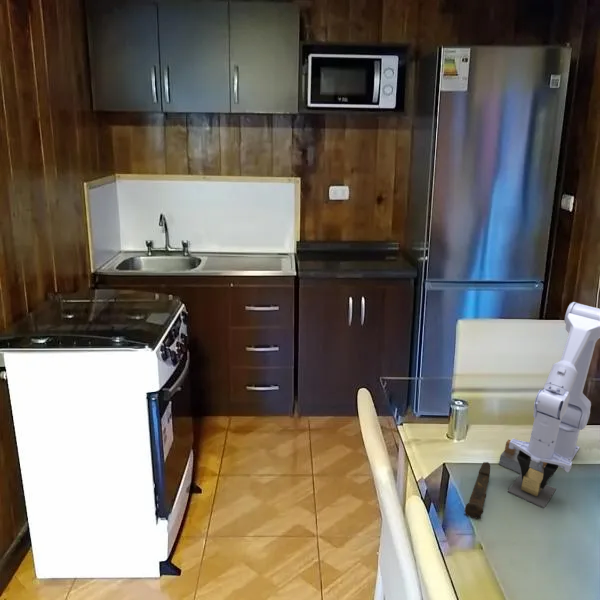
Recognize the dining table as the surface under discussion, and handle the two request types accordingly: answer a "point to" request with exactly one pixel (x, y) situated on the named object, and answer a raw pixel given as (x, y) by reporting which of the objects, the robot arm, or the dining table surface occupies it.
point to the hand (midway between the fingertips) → (533, 482)
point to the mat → (537, 500)
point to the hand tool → (479, 492)
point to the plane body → (511, 462)
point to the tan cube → (532, 482)
